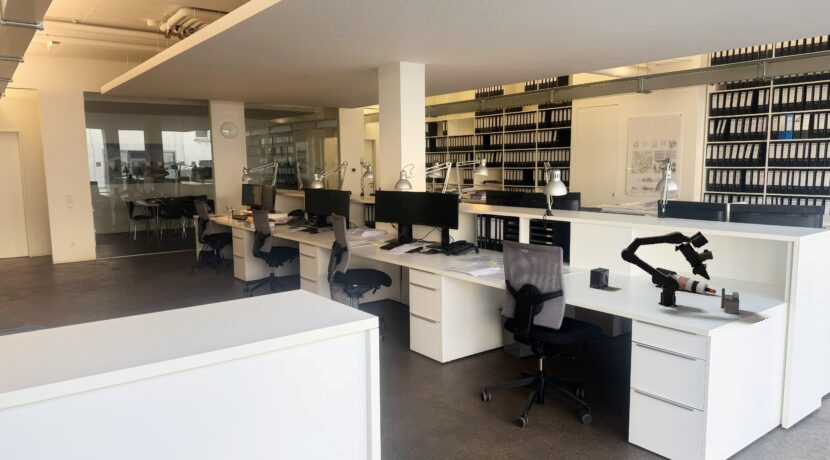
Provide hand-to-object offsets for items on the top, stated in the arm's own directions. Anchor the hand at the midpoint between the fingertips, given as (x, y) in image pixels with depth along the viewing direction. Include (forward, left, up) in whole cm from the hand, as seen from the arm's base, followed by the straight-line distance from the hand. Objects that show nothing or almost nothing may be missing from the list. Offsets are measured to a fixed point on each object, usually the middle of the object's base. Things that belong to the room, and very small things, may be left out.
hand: (709, 279), depth 276 cm
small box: (-28, +55, -14) cm, 63 cm away
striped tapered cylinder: (+14, +35, -15) cm, 41 cm away
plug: (+6, -7, -14) cm, 17 cm away
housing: (+6, -8, -14) cm, 17 cm away
